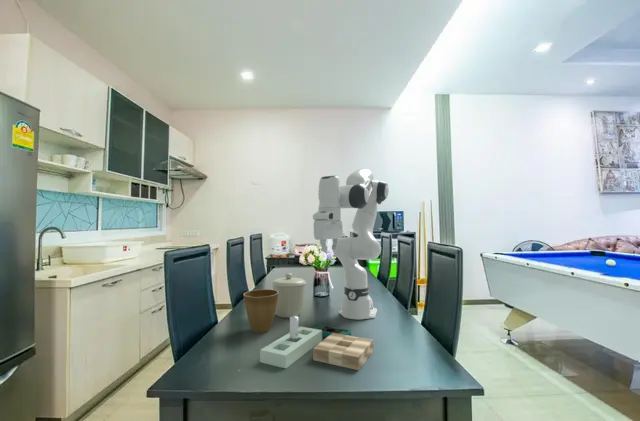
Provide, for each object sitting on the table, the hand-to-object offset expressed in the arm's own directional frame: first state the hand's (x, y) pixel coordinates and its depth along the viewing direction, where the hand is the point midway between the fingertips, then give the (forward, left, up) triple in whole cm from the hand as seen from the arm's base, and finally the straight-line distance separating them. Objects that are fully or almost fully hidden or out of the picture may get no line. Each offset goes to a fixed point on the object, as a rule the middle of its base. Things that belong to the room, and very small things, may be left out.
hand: (329, 250), depth 120 cm
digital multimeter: (-6, -2, -36) cm, 36 cm away
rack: (+14, -8, -35) cm, 39 cm away
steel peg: (+14, -8, -35) cm, 39 cm away
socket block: (+10, +10, -35) cm, 38 cm away
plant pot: (+2, -32, -35) cm, 48 cm away
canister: (-22, -33, -35) cm, 53 cm away
